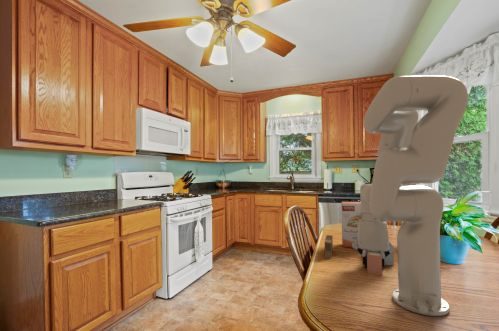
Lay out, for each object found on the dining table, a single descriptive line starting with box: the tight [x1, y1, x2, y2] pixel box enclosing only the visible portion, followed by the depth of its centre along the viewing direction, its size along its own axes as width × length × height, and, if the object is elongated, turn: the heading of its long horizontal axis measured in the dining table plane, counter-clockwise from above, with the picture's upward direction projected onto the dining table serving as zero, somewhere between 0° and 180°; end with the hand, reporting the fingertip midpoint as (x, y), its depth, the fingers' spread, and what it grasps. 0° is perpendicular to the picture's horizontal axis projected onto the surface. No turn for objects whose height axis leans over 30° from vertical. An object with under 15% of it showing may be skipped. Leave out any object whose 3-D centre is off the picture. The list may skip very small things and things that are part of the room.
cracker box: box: [341, 201, 361, 248], centre depth 117 cm, size 14×6×21 cm, turn 73°
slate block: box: [384, 251, 395, 266], centre depth 100 cm, size 12×8×6 cm, turn 159°
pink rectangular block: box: [366, 250, 383, 276], centre depth 90 cm, size 10×4×6 cm, turn 159°
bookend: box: [324, 234, 334, 259], centre depth 107 cm, size 12×2×6 cm, turn 159°
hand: (373, 267), depth 90 cm, fingers closed on pink rectangular block, 4 cm apart
